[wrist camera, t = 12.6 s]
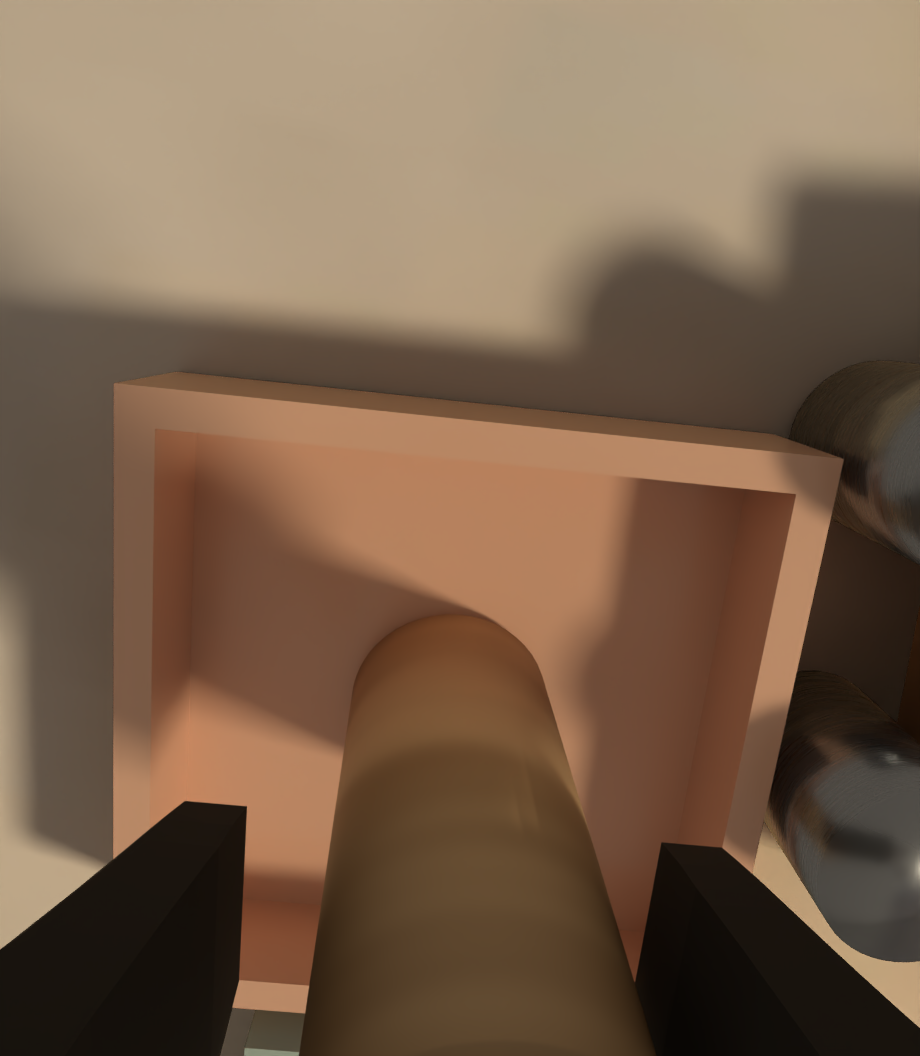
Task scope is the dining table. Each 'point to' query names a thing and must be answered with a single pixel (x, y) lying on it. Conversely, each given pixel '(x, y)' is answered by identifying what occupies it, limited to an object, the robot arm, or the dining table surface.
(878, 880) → the cylinder
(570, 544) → the dish
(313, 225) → the dining table surface
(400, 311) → the dining table surface
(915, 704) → the brown wooden block
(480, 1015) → the dowel
